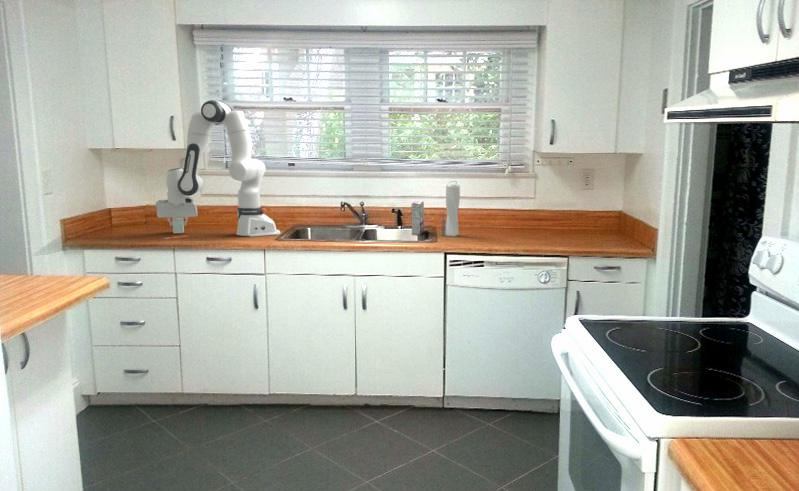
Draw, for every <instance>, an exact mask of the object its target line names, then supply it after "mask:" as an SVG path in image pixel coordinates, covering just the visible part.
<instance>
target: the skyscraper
mask: <svg viewBox="0 0 799 491" xmlns="http://www.w3.org/2000/svg"><path fill="white" fill-rule="evenodd" d="M451 183H454V184H451ZM460 191H461V186H460V184H458V181H456V180H451V181H449V182H448V183H447V184H446V186H445V206H446V214H447V215H446V220H445V212H444V211H443V212H442V220H441V223H442V224H441V234H440V237H447V238H455V237H458V236H459V235H460V233H459V232H460V231H459V230H460V229H459V217H458V212H459V208H460V199H461V197H460V195H461V194H460V193H461V192H460Z"/></svg>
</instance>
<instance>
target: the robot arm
mask: <svg viewBox="0 0 799 491" xmlns="http://www.w3.org/2000/svg"><path fill="white" fill-rule="evenodd" d="M214 125H215V126H218V125H224V126H225V128H226V132H227V137H228V141H229V145H230V152H231V156H230V157H231V162H230V165H229V166H228V167H229V168H228V173H229V176H230V177H231V178H232V179H233V180H235V181H239V182H241V184H240V187H239V189H238V192H237V206H238V207H237V218H238V222H237V228H236V229H237V231H236V235H237V236H243V237H251V238H253V237H264V236H265V237H267V236H278V235H280V234H281V231H280V229H277V226H276V223H275V221H274V220H273V219H272V218H270V217H269V216H268V215H267V214H265V213H266V211H267V209H266V208H265V207H262V206H261V186H262V183H263V182H262V181H263V178H264V175H265V174H266V171H267V170H266V165H265V163H264V162H263V161H261V160H260V159H257V158H252V150H253V146H254V144H253V140H252V135H251V132H250V128H249V125H248V122H247V120H246V117H245V115H244V113H243V112H242V111H239V110H233V109H232V107H231V106H230V105H229V104H228V103H225V102H221V101H219V100H207V101H205V102H204V103H203V104H202V106H201V108H200V111H197V112H195V113H193V114H192V115H191V118H190V121H189V124H188V130H187V136H186V137H187V140H186V154H185V160H184V165H183V168H182V167H177V168H172V169H169V170H168V171H167V173H166V187H167V192H166V193H167V199H158V200H157V201H156V202H155V208H156V216H157V218H158V219H167V221H168V223H169V226H170V227H173V221H172V220H171V218H184V219H185V221H183V225H184V226H187V222H188V220H189V218H191V217H192V218H193V217H198V206H197V205H196V203H195V198H194V197H191V196H193V195H195V194H196V193H199V192H200V191H201V190H202V189H203V188H204V180H203V178H202V177H201V176H200V175H198V174H197V170H198V166H199V161H200V158H201V156H202V155H203V153H204V152H206V150H207V149H208V148H209V144H210V140H211V132H212V128H213V127H214Z"/></svg>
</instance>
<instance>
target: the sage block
mask: <svg viewBox="0 0 799 491" xmlns="http://www.w3.org/2000/svg"><path fill="white" fill-rule="evenodd" d="M171 222H173V226H172V233H173V234H184V231H185V227H184V225H183V222H184V217H172V220H171Z"/></svg>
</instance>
